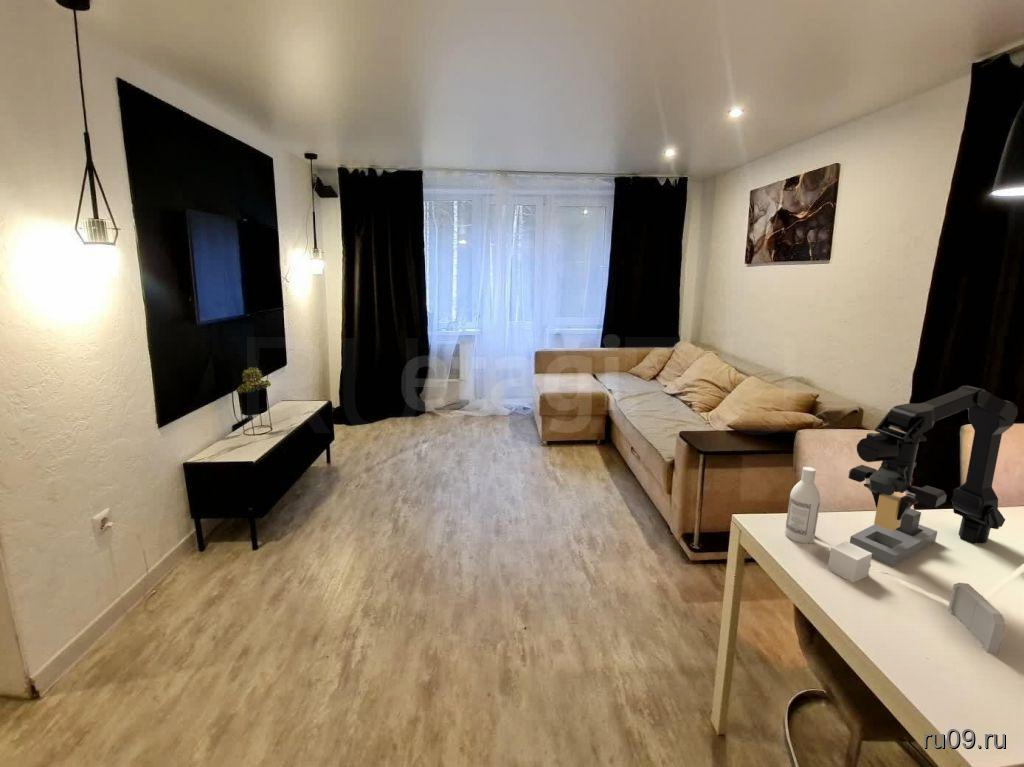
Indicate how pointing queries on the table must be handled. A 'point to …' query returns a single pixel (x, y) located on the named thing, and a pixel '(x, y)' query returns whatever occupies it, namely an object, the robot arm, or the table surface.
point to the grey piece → (893, 543)
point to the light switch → (977, 616)
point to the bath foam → (803, 508)
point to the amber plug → (888, 511)
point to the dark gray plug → (910, 522)
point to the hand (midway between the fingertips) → (888, 515)
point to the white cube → (849, 561)
